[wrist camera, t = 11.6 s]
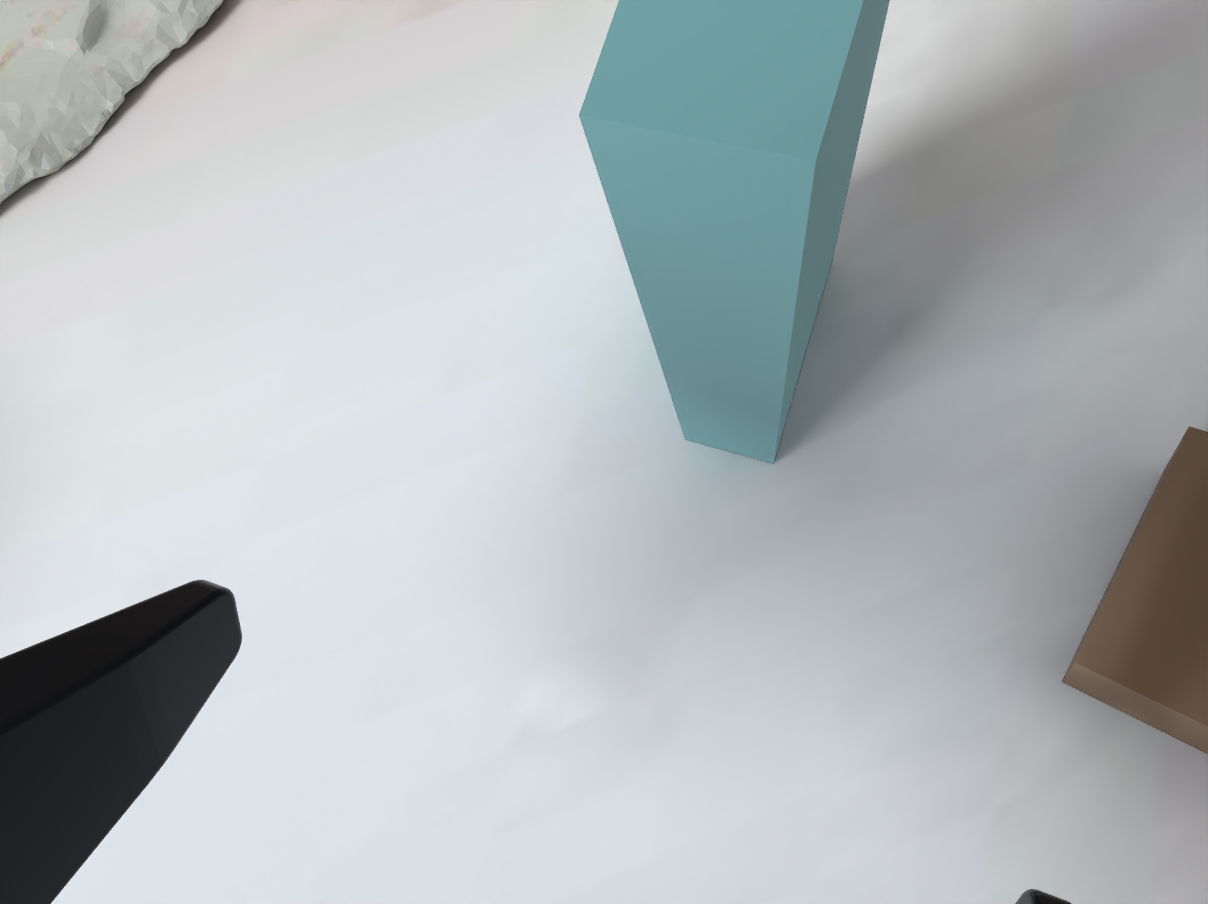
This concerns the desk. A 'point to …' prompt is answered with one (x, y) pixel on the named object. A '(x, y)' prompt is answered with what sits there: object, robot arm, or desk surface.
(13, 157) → the stone tool
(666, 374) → the teal domino
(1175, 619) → the domino
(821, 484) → the desk surface
